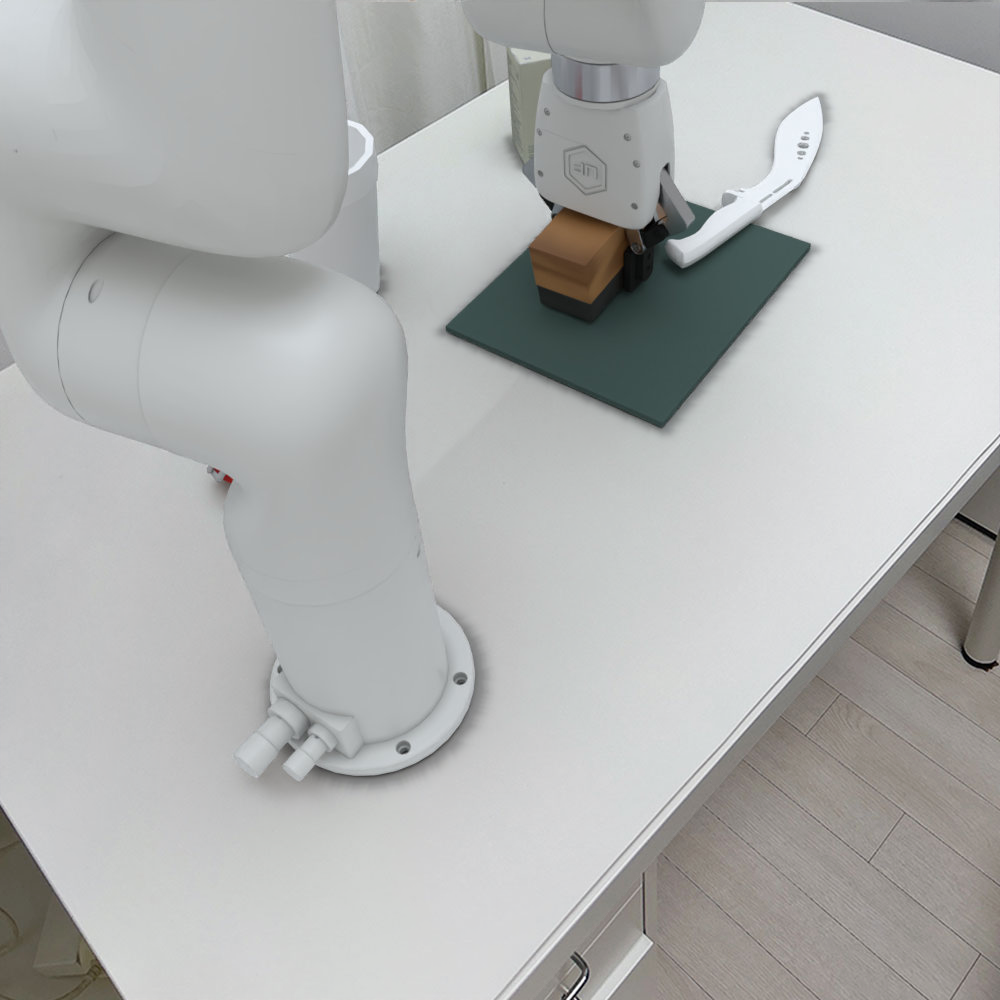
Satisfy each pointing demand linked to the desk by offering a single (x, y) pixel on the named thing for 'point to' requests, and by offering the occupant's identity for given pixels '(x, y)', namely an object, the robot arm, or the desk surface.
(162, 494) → the desk surface
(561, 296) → the scrub brush
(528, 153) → the cream tall box
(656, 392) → the mat
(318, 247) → the foam cup
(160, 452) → the desk surface
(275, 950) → the desk surface
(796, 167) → the knife
